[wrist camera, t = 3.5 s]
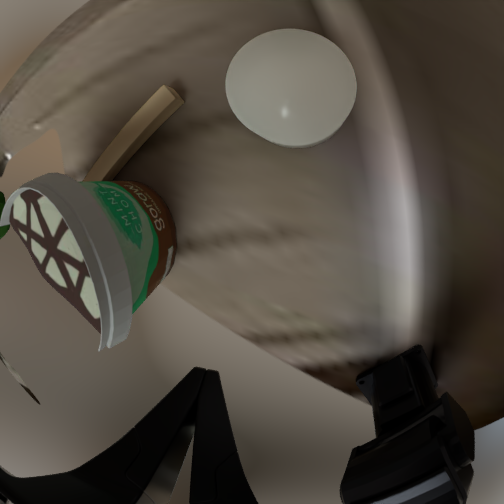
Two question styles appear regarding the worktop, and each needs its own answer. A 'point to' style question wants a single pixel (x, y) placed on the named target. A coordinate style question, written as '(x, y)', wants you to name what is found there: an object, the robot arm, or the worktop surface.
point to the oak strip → (135, 134)
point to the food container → (96, 244)
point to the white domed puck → (291, 87)
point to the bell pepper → (0, 204)
